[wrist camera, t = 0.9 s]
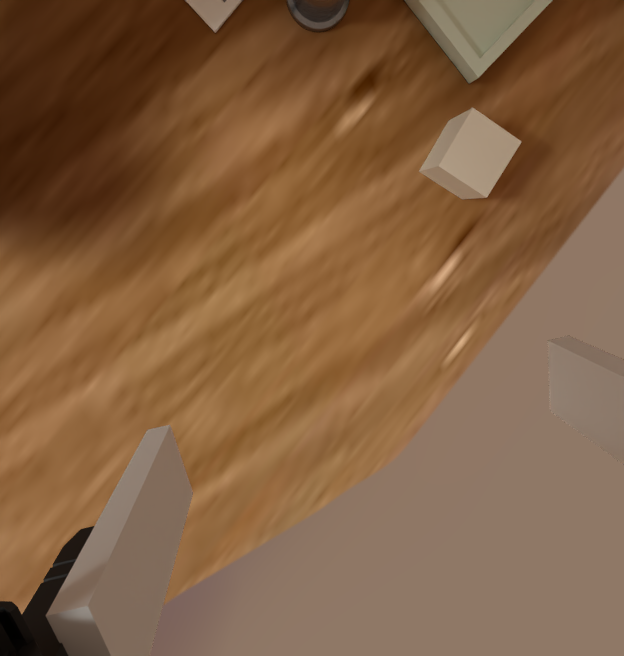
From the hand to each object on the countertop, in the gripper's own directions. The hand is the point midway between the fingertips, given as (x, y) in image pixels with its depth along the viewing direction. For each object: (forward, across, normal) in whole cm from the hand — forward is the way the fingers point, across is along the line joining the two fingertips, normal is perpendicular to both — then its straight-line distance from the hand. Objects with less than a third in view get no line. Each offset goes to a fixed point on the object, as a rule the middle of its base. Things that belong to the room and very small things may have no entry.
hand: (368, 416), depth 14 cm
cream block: (+28, +16, +8) cm, 33 cm away
